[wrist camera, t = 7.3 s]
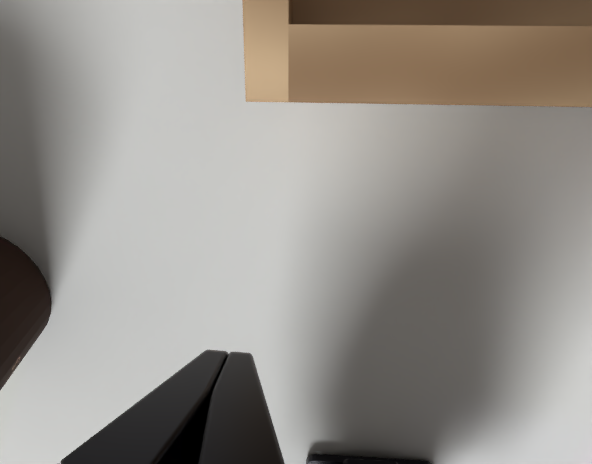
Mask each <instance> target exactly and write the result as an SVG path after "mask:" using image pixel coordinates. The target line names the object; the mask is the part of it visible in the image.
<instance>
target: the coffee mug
mask: <svg viewBox="0 0 592 464" xmlns="http://www.w3.org/2000/svg"><path fill="white" fill-rule="evenodd" d="M50 314H51V298H50V292H49V289H48V286H47V283H46V281H45V278H44V277H43V275H42V273H41V272H40V270H39V268H38V267H37V266H36V265H35V263H34V262H33V261H32V260H31V259H30V258H29V256H27V255H26V254H25V253H24V252H23V251H22V250H21V249H19V248H18V247H17V246H15V245H14V244H12V243H11V242H9V241H7V240H6V239H4V238H2V237H0V390H1V389H2V387H3V386H4V384H5V383H6V382H7V380H8V379H9V377H10V376H11V375H12V373H13V372H14V370H15V369H16V368H17V366H18V365H19V363H20V362H21V361H22V359H23V358H24V356H25V355H26V354H27V352H28V351H29V349H30V348H31V347H32V345H33V344H34V342H35V341H36V340H37V338H38V337H39V335H40V334H41V333H42V331H43V329H44V328H45V326H46V325H47V323H48V320H49V317H50Z"/></svg>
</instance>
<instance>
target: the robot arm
mask: <svg viewBox="0 0 592 464" xmlns="http://www.w3.org/2000/svg"><path fill="white" fill-rule="evenodd" d="M61 464H285V463H284V460H283V457H282V453H281V450H280V447H279V443H278V440H277V437H276V433H275V430H274V426H273V423H272V420H271V416H270V413H269V410H268V406H267V403H266V400H265V396H264V393H263V390H262V386H261V383H260V380H259V376H258V373H257V370H256V366H255V363H254V360H253V356H252V355H251V354H250V353H243V352H231V353H229V354H228V352H226V351H218V350H206V351H204V352H203V353H202V354H200V355H199V356H198V357H196V358H195V359H194V360H192V361H191V362H190V363H188V364H187V365H186V366H184V367H183V368H182V369H181V370H179V371H178V372H177V373H175V374H174V375H173V376H171V377H170V378H169V379H167V380H166V381H165V382H163V383H162V384H161V385H160V386H158V387H157V388H156V389H154V390H153V391H152V392H150V393H149V394H148V395H146V396H145V397H144V398H142V399H141V400H140V401H139V402H137V403H136V404H135V405H133V406H132V407H131V408H129V409H128V410H127V411H125V412H124V413H123V414H121V415H120V416H119V417H118V418H116V419H115V420H114V421H112V422H111V423H110V424H108V425H107V426H106V427H104V428H103V429H102V430H100V431H99V432H98V433H97V434H95V435H94V436H93V437H91V438H90V439H89V440H87V441H86V442H85V443H83V444H82V445H81V446H79V447H78V448H77V449H76V450H74V451H73V452H72V453H70V454H69V455H68V456H66V457H65V458H64V459H62V461H61ZM306 464H431V463H430V462H428V461H421V460H404V459H387V458H370V457H353V456H336V455H319V454H314V455H310V456H309V457H308V458H307V460H306Z"/></svg>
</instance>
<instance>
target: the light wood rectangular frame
mask: <svg viewBox="0 0 592 464" xmlns="http://www.w3.org/2000/svg"><path fill="white" fill-rule="evenodd" d="M243 28H244V59H245V90H246V102H309V103H372V104H435V105H498V106H560V107H592V0H243Z"/></svg>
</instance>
